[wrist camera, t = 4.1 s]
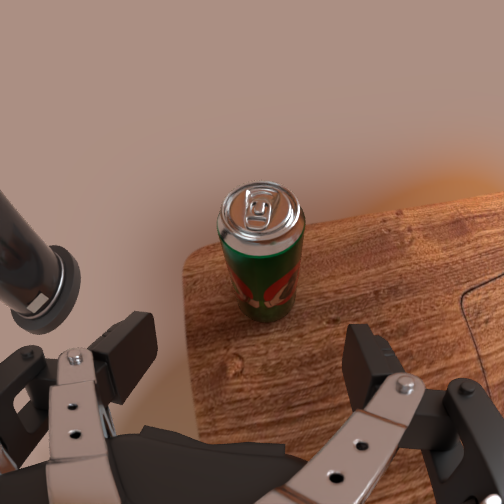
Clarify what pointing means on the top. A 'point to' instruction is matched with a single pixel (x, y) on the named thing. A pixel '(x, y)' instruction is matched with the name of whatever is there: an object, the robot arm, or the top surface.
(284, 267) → the soda can
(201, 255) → the top surface
